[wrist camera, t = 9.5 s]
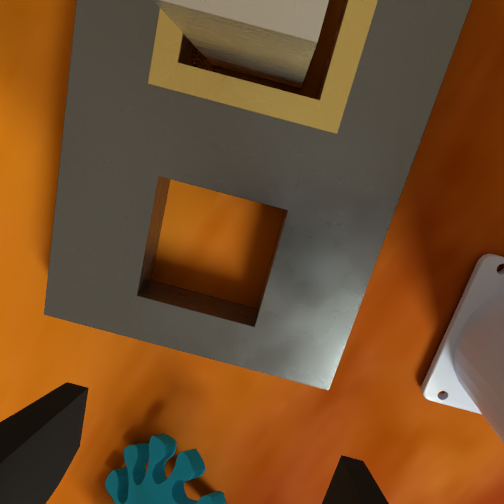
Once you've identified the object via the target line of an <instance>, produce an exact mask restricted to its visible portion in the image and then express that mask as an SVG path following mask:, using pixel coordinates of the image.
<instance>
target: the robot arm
mask: <svg viewBox="0 0 504 504" xmlns="http://www.w3.org/2000/svg"><path fill="white" fill-rule="evenodd" d="M500 264H504V257H502V256H499V255H495V254H485V255H483V256H482V257H480V259H479V260H478V262H477V264H476V266H475V268H474V270H473V273H472V275H471V277H470V279H469V282H468V284H467V286H466V288H465V290H464V293H463V295H462V297H461V299H460V302H459V304H458V306H457V308H456V310H455V313H454V315H453V317H452V319H451V322H450V324H449V326H448V328H447V330H446V333H445V335H444V337H443V339H442V342H441V344H440V346H439V348H438V350H437V353H436V355H435V357H434V359H433V362H432V364H431V366H430V368H429V370H428V373H427V375H426V377H425V379H424V382H423V384H422V386H421V392H422V394H423V396H424V397H425V398H426V399H428V400H430V401H434V402H438V403H441V404H445V405H449V406H453V407H456V408H460V409H464V410H468V411H471V412H475V413H479V414H482V415H483V416H484V417H485V419H486V420H487V421H488V423H489V424H490V425H491V427H492V428H493V429H494V431H495V432H496V434H497V435H498V436H499V438H500V439H501V440H502V442H503V443H504V268H503V269H502V270H501V271H499V272H497V267H498V266H499V265H500ZM441 391H445V392H444V393H443V394H442V395H438V393H439V392H441ZM87 394H88V388H87V387H83V386H79V385H75V384H72V383H68V382H67V383H65V384H63V385H61V386H60V387H58V388H56V389H55V390H53V391H51V392H50V393H48V394H47V395H45V396H43V397H42V398H40V399H38V400H37V401H35V402H33V403H32V404H30V405H29V406H27V407H25V408H24V409H22V410H20V411H19V412H17V413H15V414H14V415H12V416H10V417H8V418H7V419H5V420H3V421H1V422H0V504H46V502H47V501H48V499H49V498H50V496H51V495H52V493H53V492H54V491H55V489H56V488H57V486H58V485H59V483H60V481H61V479H62V478H63V476H64V474H65V472H66V471H67V469H68V467H69V465H70V463H71V461H72V460H73V458H74V456H75V454H76V452H77V450H78V448H79V447H80V440H81V434H82V427H83V421H84V414H85V407H86V401H87ZM322 504H389V503H388V502H387V500H386V498H385V497H384V495H383V493H382V492H381V490H380V488H379V487H378V485H377V483H376V482H375V480H374V478H373V477H372V475H371V473H370V472H369V470H368V468H367V467H366V465H365V463H364V462H363V461H361V460H357V459H353V458H350V457H346V456H342V455H341V458H340V460H339V463H338V465H337V468H336V470H335V473H334V475H333V478H332V480H331V483H330V485H329V488H328V490H327V493H326V495H325V498H324V500H323V503H322Z"/></svg>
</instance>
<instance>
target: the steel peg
mask: <svg viewBox="0 0 504 504" xmlns="http://www.w3.org/2000/svg"><path fill="white" fill-rule="evenodd" d="M153 1H154V2H155V3H156V4H157V5H158V6H159V7H160V8H161V9H162V10H163V12H164V13H165V14H166V15H167V16H168V17H169V18H170V19H171V20H172V21H173V23H174V24H175V25H176V26H177V27H178V28H179V29H180V30H181V31H182V33H183V34H184V35H185V36H186V37H187V38H188V39H189V40H190V41H191V42H192V44H193V45H194V46H195V47H196V48H197V49H198V50H199V51H200V52H201V53H202V55H203V56H204V57H205V58H206V59H207V60H208V61H209V62H210V63H211V64H212V65H216V66H220V67H223V68H227V69H231V70H234V71H238V72H242V73H246V74H249V75H253V76H257V77H260V78H264V79H268V80H272V81H275V82H279V83H283V84H287V85H290V86H294V87H298V88H301V86H302V84H303V81H304V78H305V75H306V73H307V70H308V67H309V64H310V62H311V59H312V56H313V53H314V51H315V48H316V45H317V42H318V39H319V35H320V31H321V28H322V24H323V21H324V17H325V13H326V10H327V6H328V2H329V0H153Z"/></svg>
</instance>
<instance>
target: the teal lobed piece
mask: <svg viewBox="0 0 504 504" xmlns="http://www.w3.org/2000/svg"><path fill="white" fill-rule="evenodd" d="M175 451H176V441H175V440H174V439H173V438H172V437H170V436H169V435H166V434H159V435H154V436H152V437H151V439H150V442H149V444H148V443H140V444H135V445H130V446H127V447H126V448H125V449H124V460H125V463H126V466H127V467H124V468H120V469H116V470H113V471H112V472H111V473H110V474H109V476H108V477H107V479H106V481H105V487H106V490H107V492H108V493H109V494H110V496H111V497H112V499H113V501H114V503H115V504H226V501H225V497H224V493H223V492H221V491H216V492H213V493H210V494H207V495H205V496H203V497H201V499H200V500H199V501H195V500H192V499H189V498H188V497H187V496H186V494H185V491H184V482H185V481H188V480H191V479H195V478H198V477H201V476H202V475H203V473H204V471H205V465H204V462H203V460H202V458H201V456H200V454H199V453H198V451H197V450H196V449H192V450H187V451H183V452H181V453H179V455H178V457H177V459H176V463H175V467H174V469H173V471H172V473H171V475H170V476H169V477H168V478H167V477H166V475H165V471H164V467H165V463H166V461H167V460H168V459H170V458H171V457H172V456H173V455H174V454H175ZM148 459H149V463H148V468H147V472H146V475H145V467H146V464H147V461H148Z"/></svg>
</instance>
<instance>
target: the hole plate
mask: <svg viewBox="0 0 504 504" xmlns="http://www.w3.org/2000/svg"><path fill="white" fill-rule="evenodd" d="M471 3H472V0H345V2H344V5H343V9H342V12H341V16H340V19H339V23H338V26H337V30H336V33H335V37H334V40H333V44H332V47H331V51H330V55H329V58H328V62H327V65H326V69H325V72H324V76H323V79H322V83H321V86H320V90H319V93H318V97H317V99H313V98H309V97H305V96H302V95H298V94H294V93H290V92H287V91H283V90H279V89H275V88H271V87H268V86H264V85H260V84H256V83H253V82H249V81H245V80H241V79H238V78H234V77H230V76H226V75H223V74H219V73H215V72H211V71H208V70H204V69H200V68H196V67H193V66H192V62H193V57H194V51H195V46H194V45H193V44H192V42H191V41H190V40H189V39H188V38H187V37H186V36H185V35H184V34H183V33H182V31H181V30H180V29H179V28H178V27H177V26H176V25H175V24H174V23H173V21H172V20H171V19H170V18H169V17H168V16H167V15H166V14H165V13H164V12H163V10H162V9H161V8H160V7H159V6H158V5H157V4H156V3H155V2H154V1H153V0H77V4H76V13H75V23H74V32H73V42H72V51H71V61H70V70H69V80H68V89H67V99H66V109H65V118H64V128H63V137H62V147H61V156H60V166H59V175H58V185H57V194H56V204H55V213H54V223H53V233H52V242H51V252H50V261H49V271H48V280H47V290H46V299H45V309H44V315H48V316H52V317H55V318H59V319H63V320H67V321H70V322H74V323H78V324H82V325H85V326H89V327H93V328H97V329H100V330H104V331H108V332H112V333H115V334H119V335H123V336H127V337H130V338H134V339H138V340H142V341H146V342H149V343H153V344H157V345H161V346H164V347H168V348H172V349H176V350H179V351H183V352H187V353H191V354H194V355H198V356H202V357H206V358H209V359H213V360H217V361H221V362H224V363H228V364H232V365H236V366H239V367H243V368H247V369H251V370H255V371H258V372H262V373H266V374H270V375H273V376H277V377H281V378H285V379H288V380H292V381H296V382H300V383H303V384H307V385H311V386H315V387H318V388H322V389H326V390H329V388H330V385H331V383H332V380H333V377H334V375H335V372H336V369H337V366H338V364H339V361H340V358H341V356H342V353H343V350H344V347H345V345H346V342H347V339H348V337H349V334H350V331H351V328H352V326H353V323H354V320H355V318H356V315H357V312H358V309H359V307H360V304H361V301H362V299H363V296H364V293H365V290H366V288H367V285H368V282H369V280H370V277H371V274H372V271H373V269H374V266H375V263H376V261H377V258H378V255H379V252H380V250H381V247H382V244H383V241H384V239H385V236H386V233H387V231H388V228H389V225H390V222H391V220H392V217H393V214H394V212H395V209H396V206H397V203H398V201H399V198H400V195H401V193H402V190H403V187H404V184H405V182H406V179H407V176H408V174H409V171H410V168H411V165H412V163H413V160H414V157H415V155H416V152H417V149H418V146H419V144H420V141H421V138H422V136H423V133H424V130H425V127H426V125H427V122H428V119H429V117H430V114H431V111H432V108H433V106H434V103H435V100H436V98H437V95H438V92H439V89H440V87H441V84H442V81H443V79H444V76H445V73H446V70H447V68H448V65H449V62H450V60H451V57H452V54H453V51H454V49H455V46H456V43H457V41H458V38H459V35H460V32H461V30H462V27H463V24H464V22H465V19H466V16H467V13H468V11H469V8H470V5H471ZM170 179H172V180H176V181H180V182H184V183H187V184H191V185H195V186H199V187H202V188H206V189H210V190H214V191H217V192H221V193H225V194H229V195H233V196H236V197H240V198H244V199H248V200H251V201H255V202H259V203H263V204H266V205H270V206H274V207H278V208H281V209H285V213H284V217H283V220H282V224H281V227H280V231H279V235H278V238H277V242H276V245H275V249H274V252H273V256H272V259H271V263H270V266H269V270H268V273H267V277H266V280H265V284H264V287H263V291H262V295H261V298H260V302H259V305H258V309H256V308H252V307H248V306H244V305H241V304H237V303H233V302H229V301H225V300H222V299H218V298H214V297H210V296H207V295H203V294H199V293H195V292H192V291H188V290H184V289H180V288H177V287H173V286H169V285H165V284H162V283H158V282H154V281H151V278H152V273H153V268H154V262H155V257H156V252H157V246H158V241H159V236H160V231H161V225H162V220H163V215H164V210H165V204H166V199H167V194H168V188H169V183H170Z"/></svg>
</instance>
